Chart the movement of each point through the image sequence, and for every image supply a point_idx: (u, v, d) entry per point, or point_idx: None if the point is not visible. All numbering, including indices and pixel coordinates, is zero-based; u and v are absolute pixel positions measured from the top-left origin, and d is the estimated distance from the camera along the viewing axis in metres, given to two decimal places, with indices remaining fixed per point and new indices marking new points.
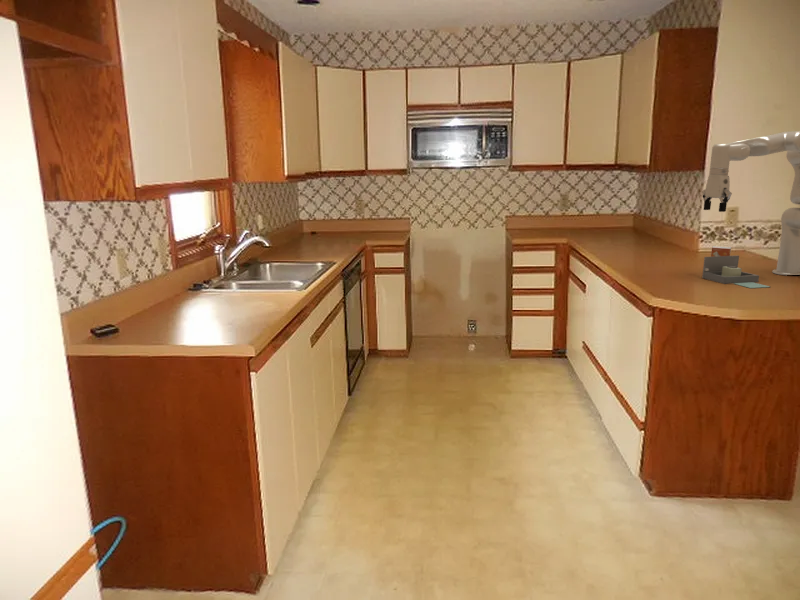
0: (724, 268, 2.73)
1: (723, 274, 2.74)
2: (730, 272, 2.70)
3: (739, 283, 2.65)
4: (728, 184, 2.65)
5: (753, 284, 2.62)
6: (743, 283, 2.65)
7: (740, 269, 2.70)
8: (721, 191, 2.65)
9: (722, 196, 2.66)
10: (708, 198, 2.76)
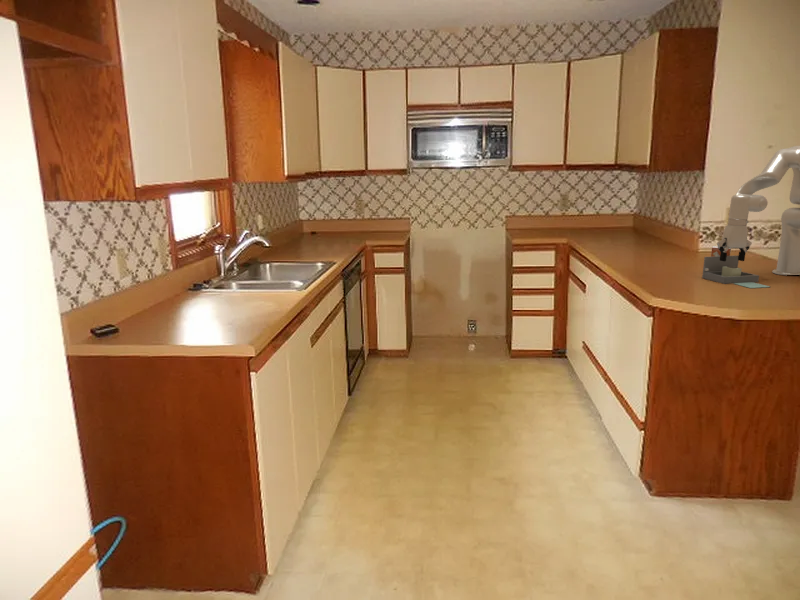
0: (724, 268, 2.73)
1: (723, 274, 2.74)
2: (730, 272, 2.70)
3: (739, 283, 2.65)
4: None
5: (753, 284, 2.62)
6: (743, 283, 2.65)
7: (740, 269, 2.70)
8: None
9: None
10: None
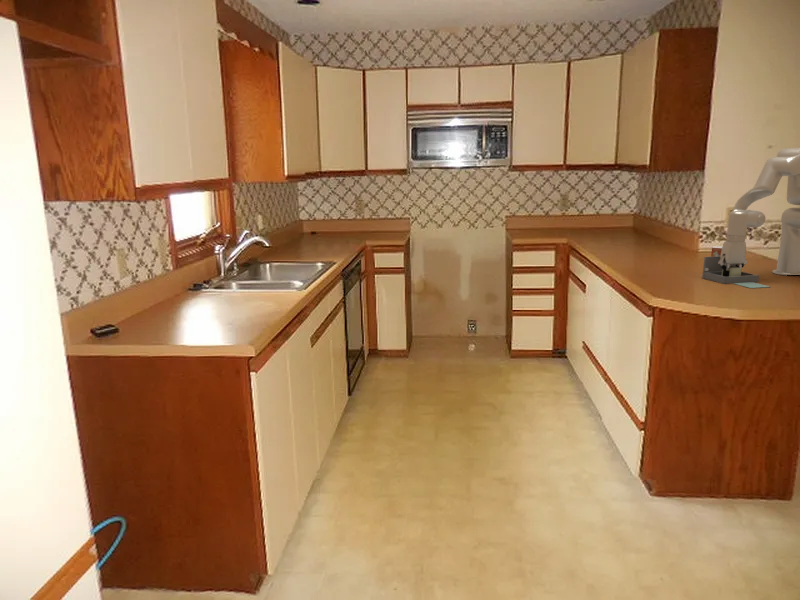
0: None
1: None
2: (730, 272, 2.70)
3: (739, 283, 2.65)
4: None
5: (753, 284, 2.62)
6: (743, 283, 2.65)
7: (740, 269, 2.70)
8: None
9: None
10: None
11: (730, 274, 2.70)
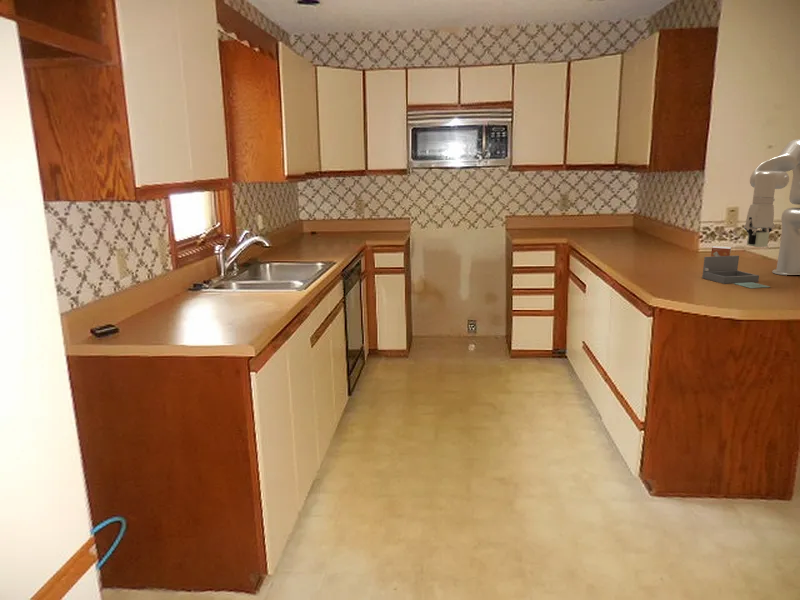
0: None
1: None
2: (757, 236, 2.54)
3: (739, 283, 2.65)
4: None
5: (753, 284, 2.62)
6: (743, 283, 2.65)
7: (767, 233, 2.54)
8: None
9: None
10: None
11: (757, 239, 2.54)
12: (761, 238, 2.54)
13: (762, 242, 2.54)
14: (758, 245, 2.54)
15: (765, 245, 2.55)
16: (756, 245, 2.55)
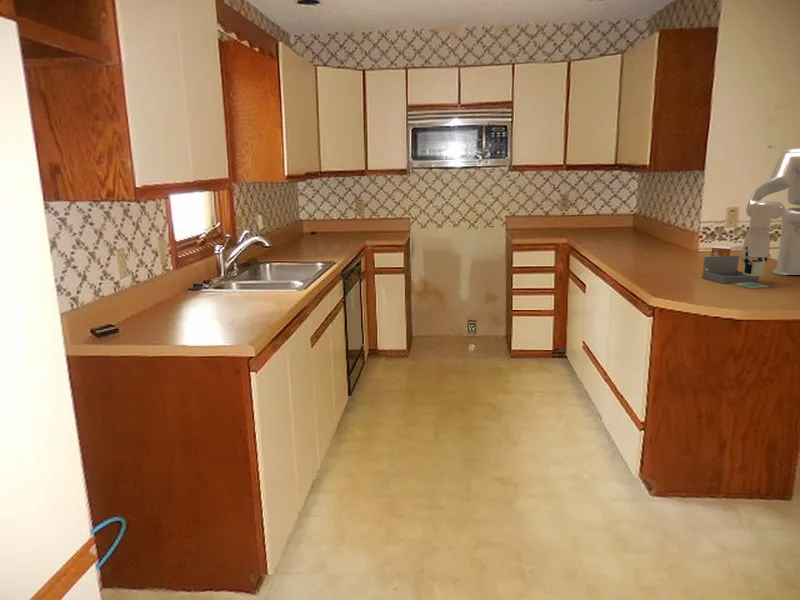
0: None
1: None
2: (753, 266, 2.57)
3: (739, 283, 2.65)
4: None
5: (753, 284, 2.62)
6: (743, 283, 2.65)
7: (763, 263, 2.57)
8: None
9: None
10: None
11: (753, 268, 2.57)
12: (757, 268, 2.57)
13: (758, 271, 2.57)
14: (754, 274, 2.57)
15: (761, 274, 2.58)
16: (752, 274, 2.57)
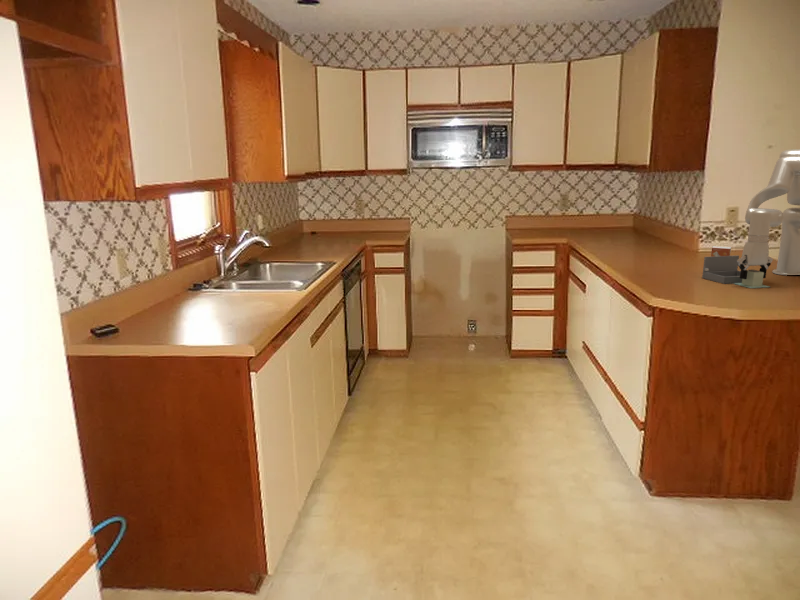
0: None
1: None
2: (752, 276, 2.58)
3: (739, 283, 2.65)
4: None
5: None
6: None
7: (762, 273, 2.58)
8: None
9: None
10: None
11: (752, 278, 2.58)
12: (756, 278, 2.58)
13: (757, 281, 2.58)
14: (753, 285, 2.58)
15: (760, 284, 2.59)
16: (751, 284, 2.59)
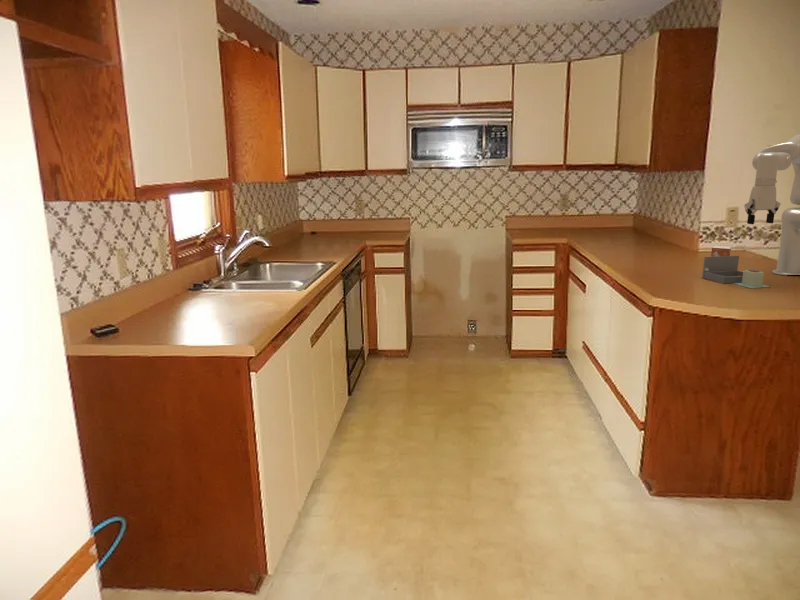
0: (745, 272, 2.62)
1: (744, 278, 2.62)
2: (752, 276, 2.58)
3: (739, 283, 2.65)
4: None
5: None
6: None
7: (762, 273, 2.58)
8: None
9: None
10: None
11: (752, 278, 2.58)
12: (756, 278, 2.58)
13: (757, 281, 2.58)
14: (753, 285, 2.58)
15: (760, 284, 2.59)
16: (751, 284, 2.59)
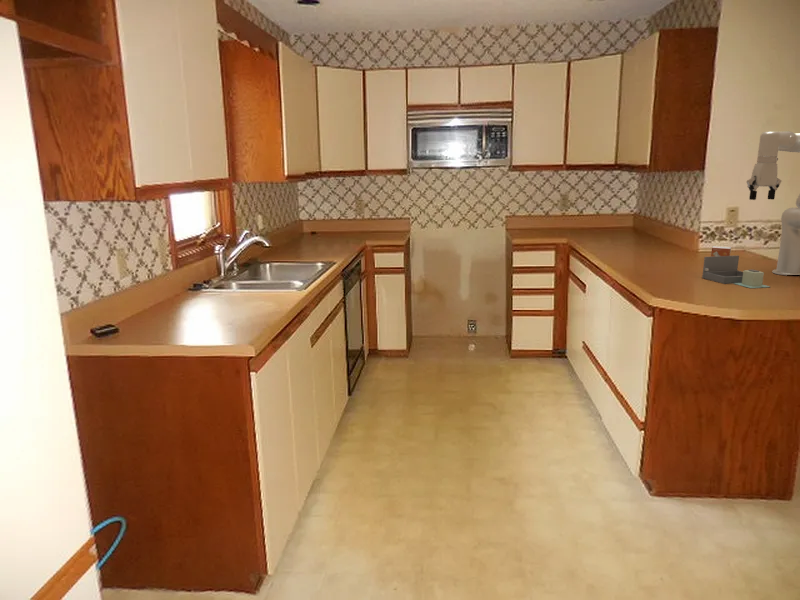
0: (745, 272, 2.62)
1: (744, 278, 2.62)
2: (752, 276, 2.58)
3: (739, 283, 2.65)
4: None
5: None
6: None
7: (762, 273, 2.58)
8: None
9: None
10: None
11: (752, 278, 2.58)
12: (756, 278, 2.58)
13: (757, 281, 2.58)
14: (753, 285, 2.58)
15: (760, 284, 2.59)
16: (751, 284, 2.59)
